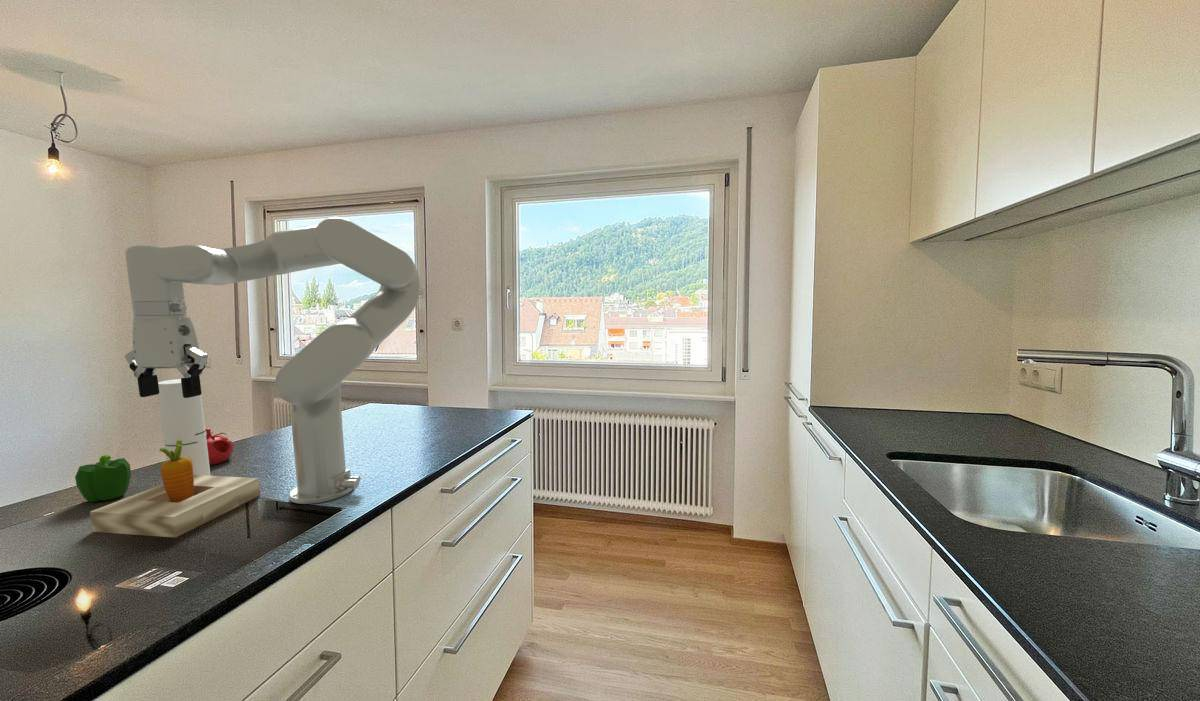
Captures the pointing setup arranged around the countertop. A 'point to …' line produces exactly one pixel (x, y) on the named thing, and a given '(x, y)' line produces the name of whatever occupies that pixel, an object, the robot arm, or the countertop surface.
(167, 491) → the carrot
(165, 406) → the cylindrical container
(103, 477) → the bell pepper
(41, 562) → the countertop surface
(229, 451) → the pomegranate
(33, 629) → the countertop surface
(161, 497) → the maple block
